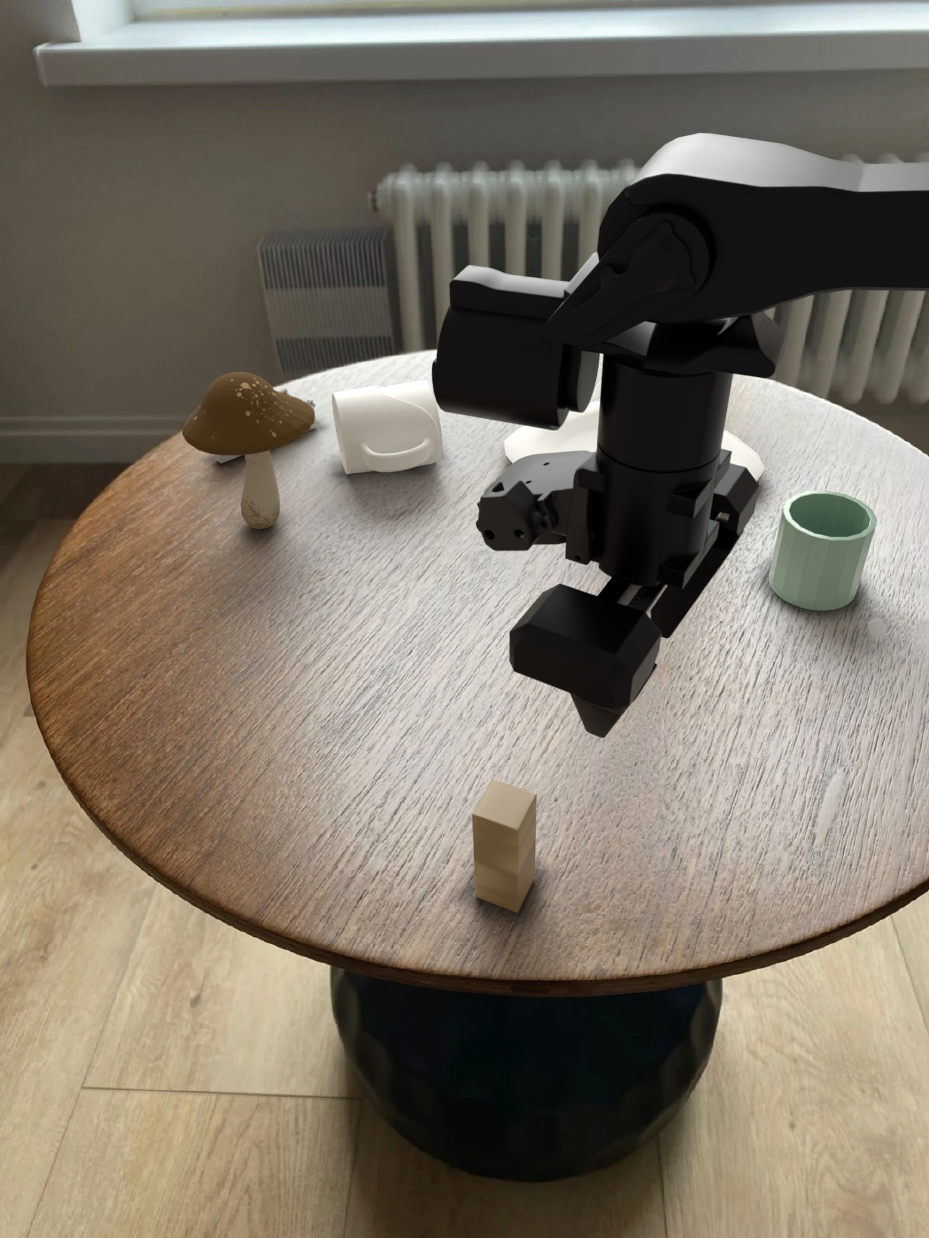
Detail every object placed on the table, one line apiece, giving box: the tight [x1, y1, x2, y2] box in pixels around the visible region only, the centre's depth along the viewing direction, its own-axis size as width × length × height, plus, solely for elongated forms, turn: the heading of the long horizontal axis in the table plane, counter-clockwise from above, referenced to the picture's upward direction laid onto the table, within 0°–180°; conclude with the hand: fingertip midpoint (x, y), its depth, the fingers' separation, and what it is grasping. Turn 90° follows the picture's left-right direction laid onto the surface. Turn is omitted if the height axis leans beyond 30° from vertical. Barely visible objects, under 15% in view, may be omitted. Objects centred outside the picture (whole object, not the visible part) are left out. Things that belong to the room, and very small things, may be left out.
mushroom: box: [181, 371, 316, 530], centre depth 86 cm, size 9×11×15 cm
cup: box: [768, 490, 878, 612], centre depth 78 cm, size 7×7×7 cm
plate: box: [503, 399, 766, 482], centre depth 95 cm, size 22×22×2 cm
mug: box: [331, 379, 444, 475], centre depth 95 cm, size 12×9×8 cm
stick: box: [471, 779, 538, 914], centre depth 57 cm, size 3×3×8 cm
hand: (630, 681), depth 55 cm, fingers open, 9 cm apart
